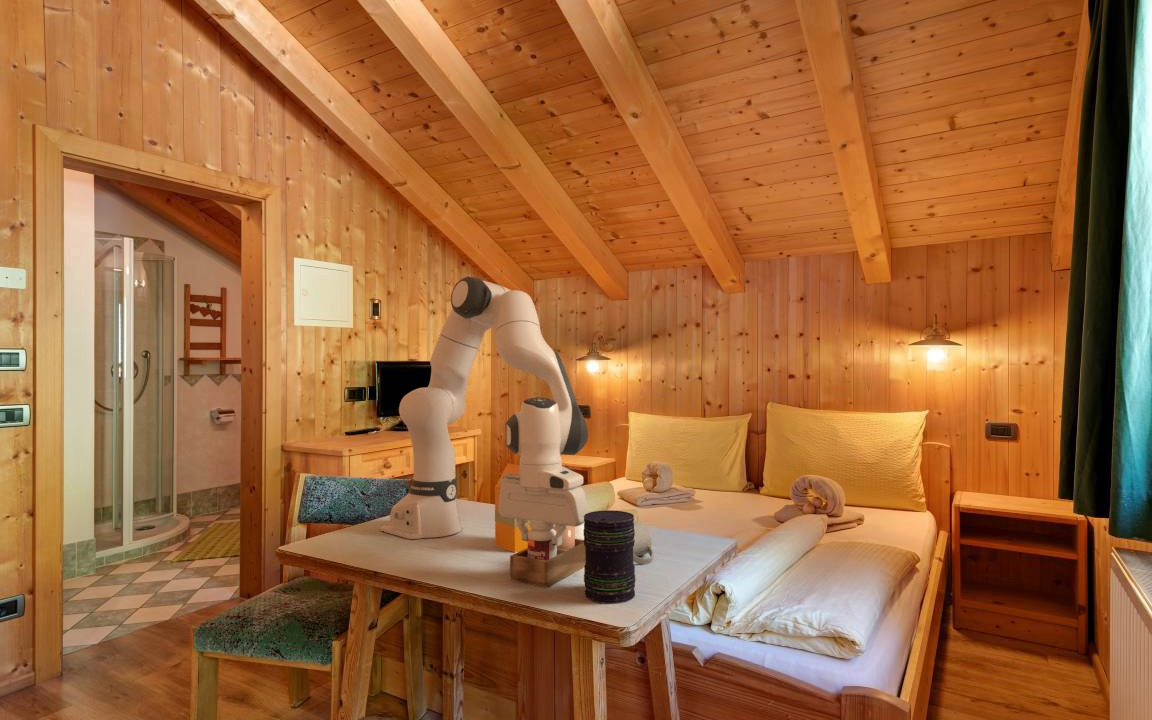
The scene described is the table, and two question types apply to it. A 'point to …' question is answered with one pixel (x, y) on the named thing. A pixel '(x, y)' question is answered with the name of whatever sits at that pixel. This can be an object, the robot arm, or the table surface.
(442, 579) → the table surface
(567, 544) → the orange rounded cylinder
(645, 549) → the ceramic mug
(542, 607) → the table surface
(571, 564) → the caddy
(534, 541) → the pill bottle
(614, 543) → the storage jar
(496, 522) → the orange juice
